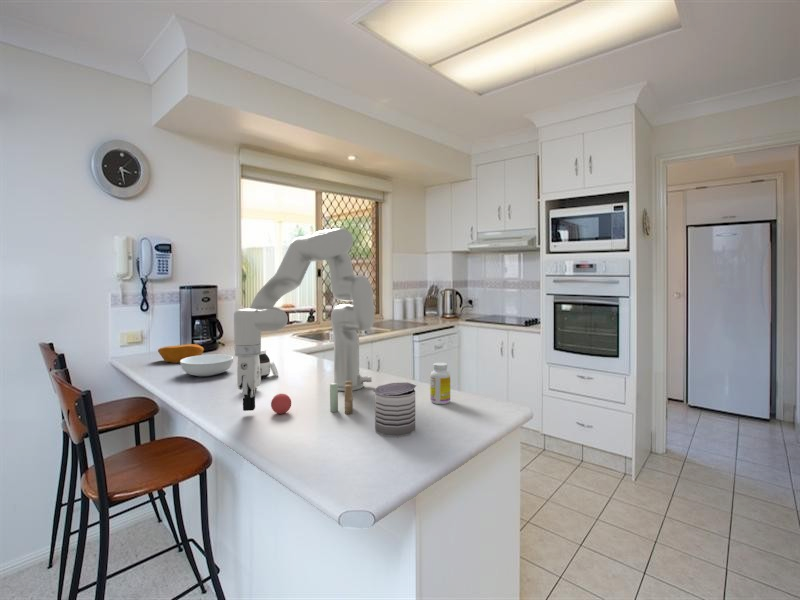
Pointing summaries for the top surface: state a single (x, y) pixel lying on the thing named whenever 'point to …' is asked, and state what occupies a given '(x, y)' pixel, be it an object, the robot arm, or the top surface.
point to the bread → (180, 352)
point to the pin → (348, 399)
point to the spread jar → (266, 365)
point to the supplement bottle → (440, 384)
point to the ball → (281, 403)
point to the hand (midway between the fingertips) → (249, 409)
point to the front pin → (333, 397)
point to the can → (395, 409)
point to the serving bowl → (206, 364)
